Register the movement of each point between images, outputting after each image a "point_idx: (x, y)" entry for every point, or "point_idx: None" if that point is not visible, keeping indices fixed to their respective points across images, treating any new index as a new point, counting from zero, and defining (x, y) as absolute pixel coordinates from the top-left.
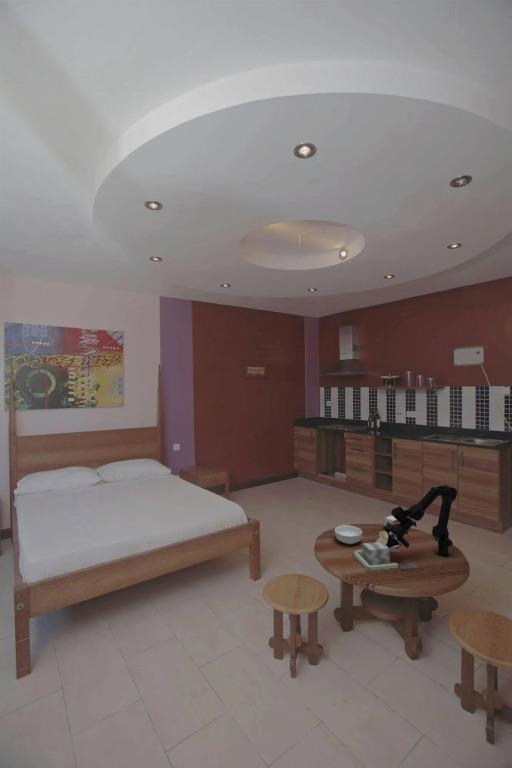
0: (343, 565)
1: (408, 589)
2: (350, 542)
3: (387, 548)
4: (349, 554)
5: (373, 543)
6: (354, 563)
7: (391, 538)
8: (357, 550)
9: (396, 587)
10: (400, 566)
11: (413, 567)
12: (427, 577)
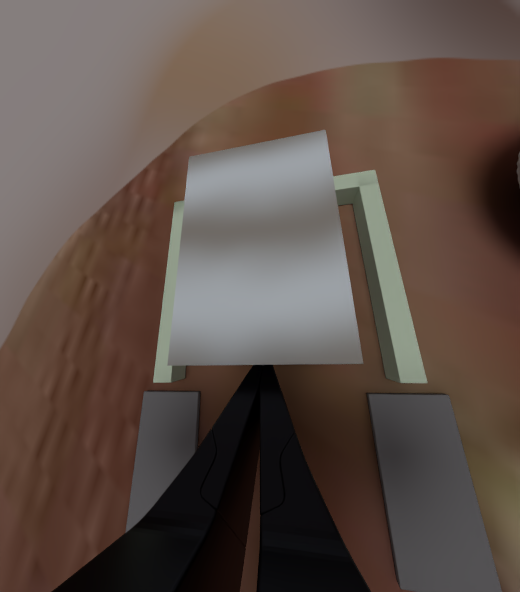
0: (254, 132)
1: (24, 318)
2: (517, 169)
3: (170, 336)
4: None
5: (318, 231)
6: None
7: (162, 567)
8: (378, 197)
9: (54, 277)
10: (170, 402)
11: (134, 494)
12: (36, 501)
